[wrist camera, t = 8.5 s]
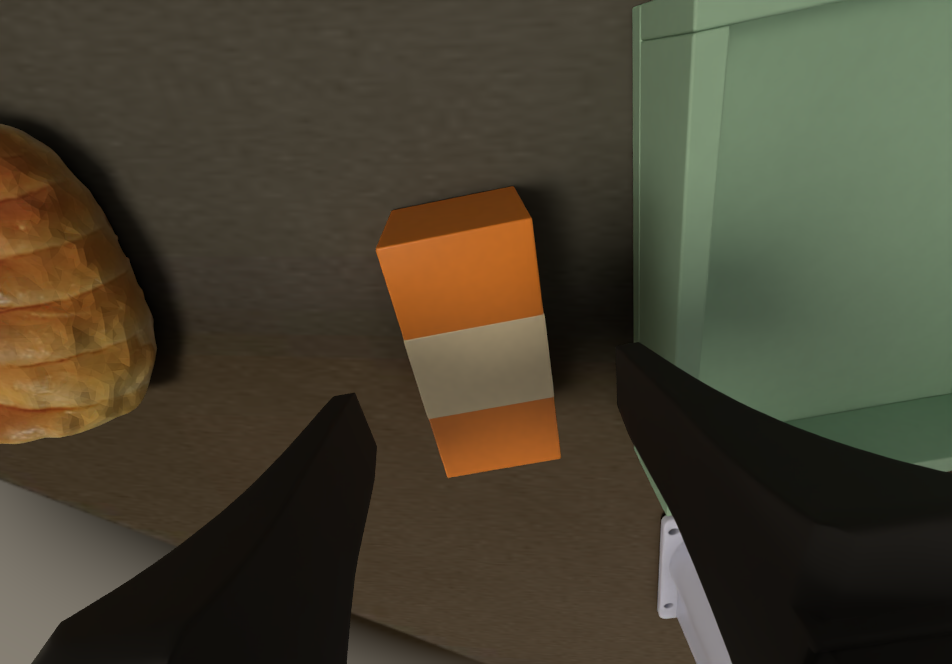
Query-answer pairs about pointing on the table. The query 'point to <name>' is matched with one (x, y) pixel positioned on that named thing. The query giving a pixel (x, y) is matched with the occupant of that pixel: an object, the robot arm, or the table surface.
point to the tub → (800, 211)
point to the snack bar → (474, 327)
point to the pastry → (63, 303)
